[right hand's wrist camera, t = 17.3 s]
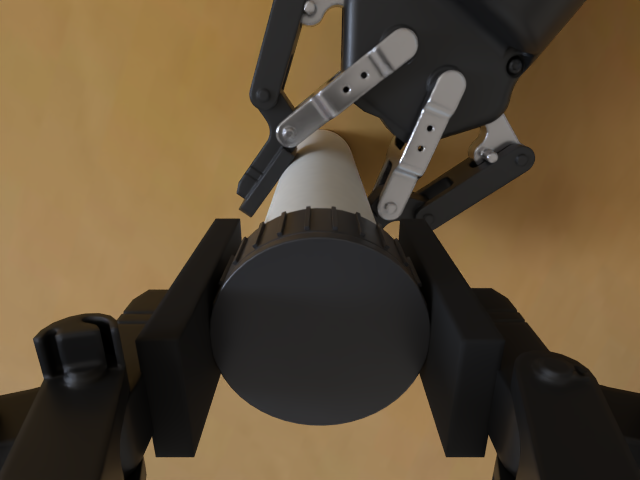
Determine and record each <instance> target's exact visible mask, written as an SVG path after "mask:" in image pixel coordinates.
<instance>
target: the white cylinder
mask: <svg viewBox="0 0 640 480" xmlns="http://www.w3.org/2000/svg"><path fill="white" fill-rule="evenodd" d="M306 206H311V208H331V207H332V206H334V207H336V209H337V210H343V211H347V212H350V213H354V214H355V213H356V212H358V213H360V215H361V217H364V218H366V219H368V220H370V221H371V222H373V223H375V224H376V222H375V219H374V216H373V213H372V210H371V207H370V204H369V201H368V198H367V196H366V193H365V190H364V187H363V184H362V181H361V178H360V175H359V172H358V170H357V167H356V164H355V161H354V158H353V155H352V152H351V150H350V147H349V146H348V144H347V143H346V141H345V140H344V139H343V138H342V137H340V136H339V135H338V134H336V133H334V132H331V131H328V130H322V129H321V130H316V131H315V132H314V133H312V134H311V135H310V136H309V137H307V138H306V139H305V140H304V141H302V142H301V143H300V144H299V145H298V146H297V152H296V156H295V158H294V159H293V161H292V162H291V163H290V165H289V166H288V167H287V169H286V170H285V171H284V173H283V174H282V176H281V177H280V179H279V182H278V185H277V188H276V190H275V193H274V196H273V199H272V202H271V205H270V208H269V211H268V214H267V216H266V219H265V222H264V223H267V222H269V221H271V220H273V219H274V218H276V217H278V216H281V214H282V212H284V211H286V213H289V212H293V211H298V210H302V209H306Z"/></svg>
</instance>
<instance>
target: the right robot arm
mask: <svg viewBox="0 0 640 480" xmlns="http://www.w3.org/2000/svg"><path fill="white" fill-rule="evenodd" d="M241 242H242V239H241V225H240V219H215V221H214V222H213V224H212V225H211V227H210V228H209V230H208V231H207V233H206V234H205V236H204V237H203V239H202V240H201V242H200V243H199V245H198V246H197V248H196V249H195V251H194V252H193V254H192V255H191V257H190V258H189V260H188V261H187V263H186V264H185V266H184V267H183V269H182V270H181V272H180V273H179V275H178V276H177V278H176V279H175V281H174V282H173V284H172V285H171V287H170V288H169V290H148V291H146V292H145V293H143V294H141V295H140V296H138V297H137V298H135V299H133V300H132V302H131V303H130V304H129V305H128V307H127V308H126V309H125V310H124V314H121V316H120V317H119V318H118V319H117V320H115V319H114V318H113V317H112V316H110V315H105V314H100V313H90V314H81V315H76V316H71V317H67V318H65V319H62V320H59V321H57V322H54V323H52V324H51V325H49V326H47V327H46V328H44V329H42V330H41V331H40V332H39V333H38V334H37V335H36V336H35V337H34V338H33V341H34V344H35V348H36V352H37V355H38V359H39V362H40V366H41V369H42V373H43V377H44V381H43V383H42V385H41V387H38V388H34V389H30V390H25V391H20V392H15V393H10V394H5V395H0V480H146V468H145V462H144V457H143V455H144V453H145V451H146V448H147V446H148V444H149V442H150V440H151V437H152V438H153V444H154V449H155V455H156V457H194V456H195V453H196V450H197V447H198V444H199V440H200V437H201V434H202V431H203V428H204V425H205V422H206V418H207V415H208V412H209V409H210V406H211V403H212V400H213V396H214V393H215V390H216V387H217V384H218V381H219V378H220V374H221V372H220V370H219V369H218V367H217V364H216V362H215V359H214V357H213V353H212V347H211V338H210V317H211V312H212V308H213V301H214V299H215V297H216V294H217V292H218V290H219V288H220V285H219V281H220V279H221V277H222V275H223V273H224V271H225V268H226V266H227V264H228V262H229V260H230V257H231V256H232V255H233V256H235V255H236V253H237V251H238V249H239V247H240V244H241ZM399 243H400V245H401V247H402V249H403V252H404V254H405V256H406V258H407V257H410V259H411V261H412V264H413V266H414V268H415V270H416V272H417V275H418V277H419V279H420V281H421V283H422V286H421V287H420V289H421V291H422V294H423V296H424V298H425V301H426V303H427V308H428V311H429V317H430V322H431V331H430V341H429V350H428V353H427V357H426V360H425V362H424V364H423V367H422V369H421V371H420V373H419V374H420V377H421V380H422V383H423V386H424V389H425V392H426V396H427V399H428V402H429V405H430V408H431V411H432V414H433V418H434V421H435V424H436V427H437V430H438V433H439V436H440V440H441V443H442V446H443V449H444V452H445V455H446V457H484V456H485V451H486V445H487V440H488V434H489V437H490V439H491V441H492V443H493V445H494V448H495V450H496V452H497V457H496V462H495V467H494V472H493V477H492V480H640V393H635V392H630V391H625V390H620V389H615V388H610V387H606V386H602V385H599V384H598V382H597V380H596V378H595V377H594V376H593V374H592V373H591V372H590V370H589V369H588V368H586V367H585V366H583V365H582V364H580V363H579V362H578V361H576V360H574V359H571V358H569V357H567V356H565V355H562V354H558V353H554V352H550V351H549V350H548V349H547V347H546V346H545V345H544V344H543V342H542V341H541V340H540V339H539V337H538V336H537V335H536V333H535V332H534V331H533V330H532V328H531V327H530V326H529V325H528V323H527V322H525V320H524V318H523V317H522V316H521V315H520V313H519V312H517V309H516V308H515V307H514V306H513V304H512V303H511V302H510V301H509V299H508V298H506V297H505V296H503V295H502V294H500V293H498V292H497V291H495V290H494V289H492V288H470V286H469V285H468V283H467V282H466V280H465V279H464V277H463V276H462V274H461V273H460V271H459V270H458V268H457V267H456V265H455V264H454V262H453V261H452V259H451V258H450V256H449V255H448V253H447V252H446V250H445V249H444V247H443V246H442V244H441V243H440V241H439V240H438V238H437V237H436V235H435V234H434V232H433V231H432V229H431V228H430V226H429V225H428V223H427V222H426V220H425V219H400V229H399Z"/></svg>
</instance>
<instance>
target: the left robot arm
mask: <svg viewBox="0 0 640 480" xmlns="http://www.w3.org/2000/svg"><path fill="white" fill-rule="evenodd" d="M585 1H586V0H274V1H273V5H272V8H271V12H270V16H269V20H268V24H267V27H266V31H265V35H264V39H263V43H262V46H261V50H260V54H259V58H258V62H257V65H256V69H255V73H254V77H253V81H252V84H251V88H250V93H249V96H250V100H251V102H252V104H253V105H254V106H255V107H256V108H258V109H259V111H260V112H261V114H262V115H263V116H264V118H265V119H266V121H267V123H268V125H269V128H270V135H269V139H268V141H267V142H266V143H265V145H264V146H263V148H262V149H261V151H260V152H259V154H258V155H257V157H256V158H255V159H254V161H253V162H252V164H251V165H250V167H249V168H248V170H247V171H246V173H245V174H244V175H243V177H242V178H241V180H240V181H239V184H238V189H237V194H238V195H240V196H241V197H243V198H244V201H243V202H242V204H241V206H240V208H239V210H240V211H242V212H243V213H245V214H246V215H248V216H249V217H252V216H253V215H254V213H255V212H256V210H257V209H258V208H259V206H260V205H261V204H262V202H263V201H264V199H265V198H266V197H267V195H268V194H269V192H270V191H271V190H272V188H273V187H274V186H275V184H276V183H277V181H278V180H279V179H280V177H281V176H282V174H283V173H284V171H285V170H286V169H287V167H288V166H289V165H290V163H291V162H292V161H293V159H294V158H295V156H296V152H297V146H298V145H299V144H300V143H301V142H302V141H304V140H305V139H306V138H307V137H309V136H310V135H311V134H312V133H314V132H315V131H316V130H318V129H319V128H320V127H321V126H323V125H324V124H325V123H326V122H328V121H329V120H331V119H333V118H334V117H336V116H337V115H339V114H340V113H341V112H342V111H344V110H345V109H346V108H347V107H349V106H350V105H351V104H353V103H354V104H355V105H357V106H358V107H359V108H361V109H362V110H363V111H364V112H367V113H369V114H372V115H374V116H377V117H379V118H380V120H381V121H382V122H383V124H384V125H385V126H386V128H387V129H388V130H389V131H390V132H391V133H392V134H394V136H393V139H392V141H391V143H390V146H389V148H388V151H387V155H386V160H385V162H384V165H383V167H382V169H381V172H380V174H379V176H378V179H377V181H376V183H375V186H374V188H373V191H372V193H371V194H370V195H369V197H368V201H369V204H370V207H371V210H372V213H373V216H374V219H375V222H376V225H377V224H378V223H380V224H381V225H382V227H383V228H384V227H385V226H386V225H387V224H389V223H390V222H393V221H400V219H425V220H426V222H427V223H428V225H429V226H430V228H431V229H432V230H434V229H436V228H437V227H439V226H441V225H442V224H444V223H445V222H447V221H449V220H450V219H452V218H453V217H455V216H457V215H458V214H460V213H461V212H463V211H464V210H466V209H468V208H469V207H471V206H472V205H474V204H476V203H477V202H479V201H480V200H482V199H483V198H485V197H487V196H488V195H490V194H491V193H493V192H495V191H496V190H498V189H499V188H501V187H503V186H504V185H506V184H507V183H509V182H510V181H512V180H514V179H515V178H517V177H518V176H520V175H522V174H523V173H525V172H526V171H528V170H529V169H530V168H531V167H532V166H533V164H534V161H535V154H534V152H533V150H532V149H530V148H529V147H526V146H524V145H523V144H521V143H520V142H519V140H518V139H517V137H516V135H515V133H514V131H513V129H512V128H511V126H510V124H509V122H508V120H507V119H506V117H505V115H504V112H505V110H506V109H507V107H508V104H509V101H510V97H511V94H512V91H513V88H514V86H515V84H516V82H517V80H518V79H519V77H520V76H521V75H522V74H523V73H524V72H525V71H526V70H527V69H528V67H529V66H530V65H531V64H532V63H533V62H534V61H535V60H536V59H537V58H538V56H539V55H540V54H541V53H542V52H543V51H544V49H545V48H546V47H547V46H548V45H549V44H550V42H551V41H552V40H553V39H554V38H555V36H556V35H557V34H558V33H559V32H560V31H561V29H562V28H563V27H564V26H565V25H566V24H567V22H568V21H569V20H570V19H571V18H572V16H573V15H574V14H575V13H576V12H577V11H578V9H579V8H580V7H581V6H582V5H583V4H584V2H585ZM334 7H340V8H342V45H341V70H340V71H339V72H338V73H336V74H335V75H334V76H333V77H332V78H330V79H329V80H328V81H327V82H325V83H324V84H323V85H322V86H320V87H319V88H318V89H317V90H316V91H315V92H314V93H312V94H311V95H310V96H309V97H308V98H306V99H305V100H304V101H303V102H302V103H300V104H299V105H298V106H297V107H295V108H294V106H293V105H292V103H291V102H290V100H289V99H288V97H287V96H286V94H285V93H284V91H283V90H284V87H285V84H286V80H287V77H288V73H289V70H290V66H291V63H292V59H293V56H294V52H295V49H296V46H297V42H298V39H299V35H300V32H301V28H302V25H304V26H307V27H314V26H316V25H318V24H319V23H320V22H321V21H322V19H323V17H324V15H325V13H326V12H327V11H328V10H329V9H331V8H334ZM478 127H480V134H479V136H478V138H477V139H476V140H475V141H474V142H473V143H472V144H471V145H470V147H469V150H468V156H469V158H467V159H466V160H464V161H463V162H461V163H460V164H458V165H457V166H455V167H454V168H452V169H450V170H449V171H447V172H446V173H444V174H443V175H441V176H440V177H438V178H437V179H435V180H434V181H432V182H431V183H429V184H428V185H426V186H425V187H423V188H422V189H420V190H419V191H417V192H416V193H415V192H412V190H413V188H414V186H415V184H416V182H417V180H418V179H419V178H421V177H422V175H423V174H424V172H425V170H426V168H427V166H428V164H429V162H430V160H431V158H432V155H433V153H434V151H435V149H436V147H437V145H438V143H439V140H440V139H442V138H446V137H449V136H452V135H455V134H458V133H462V132H465V131H468V130H471V129H474V128H478ZM419 146H421V148H420V149H418V147H419Z"/></svg>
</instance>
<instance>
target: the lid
mask: <svg viewBox="0 0 640 480" xmlns="http://www.w3.org/2000/svg"><path fill="white" fill-rule="evenodd" d="M219 285H220V288H219V290H218V292H217V294H216V297H215V299H214V301H213V308H212V312H211V317H210V338H211V347H212V353H213V357H214V359H215V362H216V364H217V367H218V369H219V370H220V372H221V374H222V376H223V377H224V379H225V380H226V381H227V383H228V384H229V385H230V387H231V388H232V389H233V390H234V391H235V392H236V393H237V394H238V395H239V396H240V397H241V398H243V399H244V400H245V401H246V402H248V403H249V404H250V405H252V406H254V407H255V408H257V409H258V410H260V411H262V412H264V413H266V414H268V415H271V416H273V417H276V418H279V419H281V420H284V421H288V422H293V423H297V424H305V425H336V424H342V423H348V422H352V421H355V420H359V419H362V418H365V417H367V416H369V415H372V414H374V413H376V412H378V411H380V410H382V409H383V408H385V407H387V406H388V405H390V404H391V403H392V402H394V401H395V400H397V399H398V398H399V397H400V396H401V395H402V394H403V393H404V392H405V391H406V390H407V389H408V388H409V387H410V385H411V384H412V383H413V382H414V380H415V379H416V377H417V376H418V374H419V373H420V371H421V369H422V367H423V364H424V362H425V360H426V357H427V353H428V350H429V341H430V331H431V322H430V317H429V311H428V308H427V303H426V301H425V298H424V296H423V294H422V291H421V289H420V287H421V286H422V283H421V281H420V279H419V277H418V275H417V272H416V270H415V268H414V266H413V264H412V261H411V259H410V257H407V258H406V256H405V254H404V252H403V249H402V247H401V245H400V243H399V240H398V239H397V238H396V239H393V238H392V237H391V236H390V235H389V234H388V233H387V232H386V231H384V230H383V227H382V225H381V224H380V223H378V224H377V225H376V224H375V223H373V222H371V221H370V220H368V219H366V218H364V217H361V215H360V213H358V212H356V213H355V214H354V213H350V212H347V211H343V210H337V209H336V207H334V206H332V207H331V208H311V206H306V209H302V210H298V211H293V212H289V213H286V211H284V212H282V214H281V216H278V217H276V218H274V219H273V220H271V221H269V222H267V223H264V222H262V223H260V226H259V228H258V229H257V230H256V231H255V232H253V233H252V234H251V235H250V236H249V237H248V238H246V237H244V238H243V240H242V242H241V244H240V247H239V249H238V251H237V253H236V255H235V256H233V255H232V256H231V257H230V260H229V262H228V264H227V266H226V268H225V271H224V273H223V275H222V277H221V279H220V281H219Z"/></svg>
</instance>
